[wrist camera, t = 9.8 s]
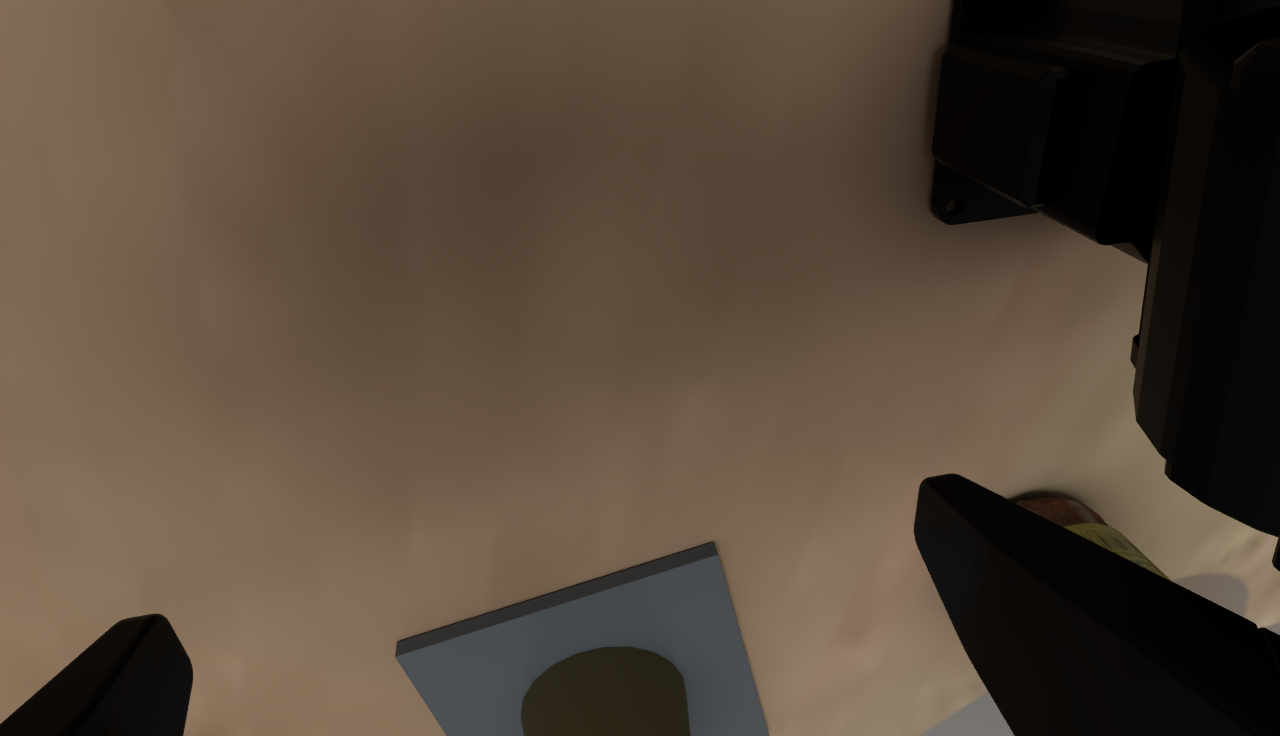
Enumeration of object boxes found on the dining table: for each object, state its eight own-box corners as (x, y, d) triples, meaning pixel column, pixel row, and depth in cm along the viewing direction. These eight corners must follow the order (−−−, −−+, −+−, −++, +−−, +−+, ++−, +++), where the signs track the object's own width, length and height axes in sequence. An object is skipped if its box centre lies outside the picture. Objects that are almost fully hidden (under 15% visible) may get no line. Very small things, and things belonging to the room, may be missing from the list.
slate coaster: (713, 541, 26) (718, 554, 25) (767, 732, 32) (771, 745, 31) (397, 641, 26) (395, 656, 25) (508, 815, 31) (508, 830, 31)
